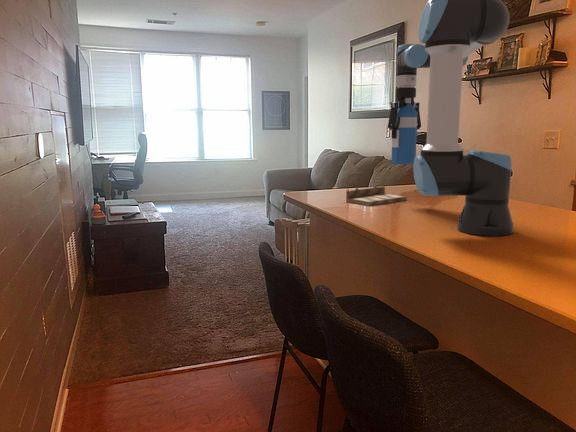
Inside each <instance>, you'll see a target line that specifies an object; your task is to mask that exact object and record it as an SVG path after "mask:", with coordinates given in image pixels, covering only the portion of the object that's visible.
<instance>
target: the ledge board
mask: <svg viewBox="0 0 576 432" xmlns="http://www.w3.org/2000/svg"><path fill="white" fill-rule="evenodd" d="M385 190H386V187H385V186H377V185H373V187H369V188H360V189H359V188H358V187H355V188H354V190H347V191H345V192H346V193H345V194H346V195H345V196H346V197H345V198H346V203H350V204H356V205H361V206H367V207H371V206H378V205H384V204H391V203H397V202H398V201H399V202H405V201H407V200H408V199H407V198H408V197H407V196H406V195H405V196H404V195H403V196H402V195H396V194H389V193H386V191H385ZM404 200H405V201H404Z"/></svg>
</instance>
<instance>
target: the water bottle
mask: <svg viewBox="0 0 576 432" xmlns="http://www.w3.org/2000/svg"><path fill="white" fill-rule="evenodd" d="M405 103H408V104H407V105H406V106H405V107H404V106H403V108H401V107H399V108H398V112H397V118H399V117H400V124H399V127H398V129H397V130H399V147H392V146H391V165H406V166H407V165H413V164H414V158H415V157H416V156H417V137H418V129H417V125H418V124H417V114H418V113H417V111H416V110H415V108H414V107H413V106H412V105H411V98H405Z"/></svg>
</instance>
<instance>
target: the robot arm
mask: <svg viewBox="0 0 576 432" xmlns="http://www.w3.org/2000/svg"><path fill="white" fill-rule="evenodd" d="M509 24H510V12H509V9H508V7H507V6H506V4H505V3H504V2H503V1H502V0H427V2H426V4H425V5H424V7H423V11H422V13H421V17H420V22H419V26H418V27H419V28H418V40H419V42H420V43H416V44H415V43H404V44H403V43H402V44H399V45H398V47H397V50H396V80H395V87H396V89H395V98H396V99H397V101H392V102H391V103H390V112H389V113H390V114H389V118H388V123H387V129H388V130H390V131H391V148H392V147H399V130H397V129H398V127H399V124H400V117H399V118H397V112H398V108H399V107H401V108H403V106H404V107H405V106H406V105H407V104H408V103H405V98H411V105H412V106H413V107H414V108H415V110H416V111H417V113H418V114H417V130H420V129H421V127H422V122H421V114H420V105H421V104H420V102H415V100H414V99H415V98H416V97H417V88H416V87H417V74H418V71H417V70H418V69H429V78H428V79H429V81H428V82H429V83H428V105H427V121H426V122H427V126H426V142H425V145H423V146H422V147H421V148H420V155H419V154H418V155H416V157H415V158H414V164H412V165H413V166H412V167H413V168H412V169H413V179H414V183H415V186H416V189H417V191H418V192H419V193H420V194H421V195H423V196H429V197H430V196H431V197H436V198H437V197H443V196H444V197H445V196H446V197H449V196H451V197H455V196H465V198H464V199H465V200H464V201H465V202H464V206H463V208H462V210H461V212H460V216H459V217H458V219H457V230H458V231H459V232H463V233H466V234H470V235H471V234H472V235H475V236H486V237H489V236H490V237H493V236H494V237H497V236H498V237H501V236H509V235H511V234H514V223H513V222H514V221H513V218H512V215H511V212H510V207H509V203H510V201H509V200H510V191H511V190H510V188H511V181H512V180H511V179H512V177H511V176H512V172H513V170H512V158H511V156H510V155H509V154H505V153H499V152H498V153H497V152H490V151H480V150H472V149H471V150H470V149H469V150H468V151H467V154H465V155H464V148H463V147H462V146H461V144H459V135H460V133H459V131H460V118H461V117H460V116H461V103H462V102H461V98H462V83H463V82H462V80H463V68H464V67H465V65H466V64H467V62H468V60H469V56H470V55H472V54H473V53H475V52H477V51H478V50H479V49H480V48H481V47H483V46H486V45H491V44H494V43H495V42H497V41H498V40H499V39H501V37H503V36H504V34H505V33H506V31H507V29H508V27H509ZM421 43H422V44H421ZM423 44H424V45H423Z"/></svg>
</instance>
